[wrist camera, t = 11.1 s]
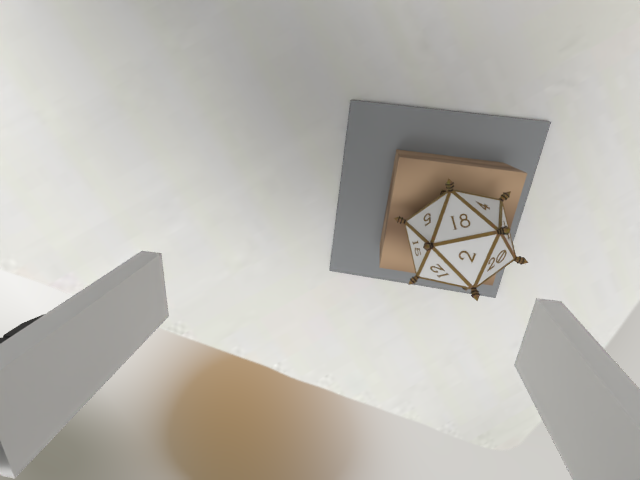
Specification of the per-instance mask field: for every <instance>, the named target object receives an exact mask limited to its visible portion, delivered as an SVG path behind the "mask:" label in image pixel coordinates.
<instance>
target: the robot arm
mask: <svg viewBox="0 0 640 480" xmlns="http://www.w3.org/2000/svg"><path fill="white" fill-rule="evenodd" d="M168 316H169V315H168V306H167V298H166V289H165V281H164V272H163V264H162V255H161V253H155V252H147V251H141V252H140V253H138V254H136V255H135V256H133V257H132V258H130V259H129V260H127V261H126V262H124V263H123V264H121V265H120V266H118V267H117V268H115V269H114V270H112V271H111V272H109V273H108V274H106V275H104V276H103V277H101V278H100V279H98V280H97V281H95V282H94V283H92V284H91V285H89V286H88V287H86V288H85V289H83V290H82V291H80V292H79V293H77V294H75V295H74V296H72V297H71V298H70V299H68V300H66V301H65V302H63V303H62V304H60V305H59V306H57V307H56V308H54V309H53V310H51V311H50V312H48V313H47V314H45V315H41V316H39V317H37V318H34V319H32V320H29V321H27V322H24V323H22V324H20V325H19V326H18V327H16V328H14V329H13V330H11V331H9V332H8V333H6V334H5V335H4V336H3V338H0V475H1V476H7V477H11V478H16V476H18V474H19V473H20V472H21V471H22V470H23V469H24V468H25V467H26V466H27V465H28V464H29V463H30V462H31V461H32V459H34V457H35V456H36V455H37V454H38V453H39V452H40V451H41V450H42V449H43V448H44V447H45V446H46V445H47V444H48V443H49V442H50V441H51V439H53V437H54V436H55V435H56V434H57V433H58V432H59V431H60V430H61V429H62V428H63V427H64V426H65V425H66V424H67V423H68V422H69V421H70V420H71V419H72V418H73V417H74V415H75V414H76V413H77V412H78V411H79V410H80V409H81V408H82V407H83V406H84V405H85V404H86V403H87V402H88V401H89V400H90V399H91V398H92V396H93V395H94V394H95V393H96V392H97V391H98V390H99V389H100V388H101V387H102V386H103V385H104V384H105V383H106V381H108V380H109V379H110V378H111V377H112V375H113V374H114V373H115V372H116V371H117V370H118V369H119V368H120V367H121V366H122V365H123V364H124V363H125V362H126V361H127V360H128V359H129V357H130V356H131V355H132V354H133V353H134V352H135V351H136V350H137V349H138V348H139V347H140V346H141V345H142V344H143V343H144V342H145V341H146V339H147V338H148V337H149V336H150V335H151V334H152V333H153V332H154V331H155V330H156V329H157V328H158V327H159V326H160V325H161V324H162V323H163V322H164V321H165V320H166V319H167V318H168ZM515 367H516V369H517V371H518V373H519V375H520V377H521V379H522V381H523V383H524V385H525V387H526V389H527V391H528V393H529V395H530V397H531V399H532V401H533V403H534V405H535V407H536V408H537V410H538V412H539V414H540V416H541V418H542V420H543V422H544V424H545V426H546V428H547V430H548V432H549V434H550V436H551V438H552V440H553V442H554V444H555V446H556V448H557V450H558V451H559V454H560V456H561V458H562V459H563V461H564V463H565V465H566V467H567V469H568V471H569V473H570V475H571V477H572V479H573V480H640V389H639V388H638V387H637V385H636V384H635V383H634V382H633V381H632V380H631V379H630V378H629V376H628V375H627V374H626V373H625V372H624V371H623V370H622V369H621V368H620V367H619V365H618V364H617V363H616V362H615V361H614V360H613V359H612V358H611V356H610V355H609V354H608V353H607V352H606V351H605V350H604V349H603V347H602V346H601V345H600V344H599V343H598V342H597V341H596V340H595V339H594V337H593V336H592V335H591V334H590V333H589V332H588V331H587V330H586V329H585V327H584V326H583V325H582V324H581V323H580V322H579V321H578V320H577V318H576V317H575V316H574V315H573V314H572V313H571V312H570V311H569V310H568V308H567V307H566V306H565V305H564V304H563V303H562V302H561V301H554V300H546V299H537V298H536V301H535V304H534V307H533V310H532V313H531V316H530V319H529V322H528V325H527V328H526V331H525V334H524V337H523V340H522V343H521V346H520V350H519V353H518V356H517V359H516V362H515Z"/></svg>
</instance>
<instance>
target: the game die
mask: <svg viewBox="0 0 640 480" xmlns="http://www.w3.org/2000/svg"><path fill="white" fill-rule="evenodd" d="M453 184H454V182H452V181H451V180H450V179H449V178H448V181H447V182H446V184H445V185H446V188H447V189H448V191H446V190H445V191H444V190H443V189H442V191H441V193H440V196H439V197H438V198H436V199H435V200H433V201H432V202H431V203H429V204H428V205H426V206H425V207H423V208H422V209H421V210H419V211H418V212H416V213H415V214H413V215H412V216H411V217H409V218H408V219H406V220H405V219H404V218H403V217H400V216H399V217H396V218H394V219H395V220H396V221H397V223H400V224H401V223H404V224H405V228H406V233H407V237H408V242H409V246H410V250H411V255H412V259H413V264H414V268H415V273H416V275H415V276H414V277H412V278H410V281H409V284H415V283H416V282H417V280H418V279H419V278H421V279H425V280H430V281H434V282H439V283H443V284H448V285H453V286H457V287H462V288H463V289H464V290H465V291H466V290H467V289H471V294H472V295H471V296H472V297H473V298H475V299H476V300H477V301H478V298H479V296H480V294H479V291H478V290H477V289H476V288H477V287H479V286H480V285H481V284H483V283H484V282H486V281H487V280H488V279H490V278H491V277H492V276H494V275H495V274H496V273H498V272H499V271H500V270H502V269H503V268H504V267H506V266H507V265H508V264H510V263H511V262H513V261H516V262H517V263H520V264H524V263H528V262H527V261H526V259H525V258H524V257H520V256H519V257H516V255H515V250H514V246H513V242H512V238H511V234H510V230H511V229H510V228H509V226H508V221H507V217H506V213H505V209H504V205H503V201H504V200H507V198H509V196H510V193H511V191H510V192H505V193H504V192H503V194H502V195H501V197H500V198H499V199H498V198H493V197H488V196H483V195H478V194H473V193H468V192H463V191H458V190H453V187H454V185H453ZM409 284H408V285H409Z"/></svg>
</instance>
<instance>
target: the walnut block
mask: <svg viewBox="0 0 640 480" xmlns="http://www.w3.org/2000/svg"><path fill="white" fill-rule="evenodd" d="M526 176H527V173H526V172H524V171H521V170H519V169H517V168H514V167H512V166H510V165H508V164H505V163H503V162H495V161H487V160H478V159H470V158H462V157H454V156H446V155H438V154H430V153H422V152H413V151H405V150H397V149H396V154H395V160H394V166H393V171H392V177H391V183H390V189H389V194H388V200H387V206H386V211H385V217H384V223H383V228H382V234H381V240H380V264H379V268H385V269H391V270H398V271H404V272H410V273H415V268H414V264H413V259H412V255H411V250H410V246H409V242H408V237H407V233H406V228H405V224H404V223H401V224H400V223H397V221H396V220H395V219H394V218H396V217H399V216H400V217H403V218H404V219H405V220H406V219H408V218H409V217H411V216H412V215H413V214H415V213H416V212H418V211H419V210H421V209H422V208H423V207H425V206H426V205H428V204H429V203H431V202H432V201H433V200H435V199H436V198H438V197H439V196H440V193H441V191H442V189H443V190H444V191H445V190H446V191H448V189H447V188H446V185H445V184H446V182H447V181H448V178H449V179H450V180H451V181H452V182H454V184H453V185H454V187H453V190H458V191H463V192H468V193H473V194H478V195H483V196H488V197H493V198H498V199H499V198H500V197H501V195H502V194H503V192H504V193H505V192H510V191H511V193H510V196H509V198H507V200H504V201H503V205H504V209H505V213H506V217H507V221H508V226H509V228H511V225H512V221H513V218H514V215H515V212H516V209H517V205H518V202H519V199H520V196H521V192H522V189H523V186H524V183H525V179H526ZM495 276H496V274H495V275H494V276H492V277H491V278H490V279H488V280H487V281H486V282H484V283H483V284H485V285H491V286H493V283H494V280H495Z"/></svg>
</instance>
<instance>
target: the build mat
mask: <svg viewBox="0 0 640 480" xmlns="http://www.w3.org/2000/svg"><path fill="white" fill-rule="evenodd" d="M550 124H551V122H549V121H539V120H530V119H521V118H512V117H503V116H494V115H485V114H476V113H467V112H457V111H448V110H439V109H430V108H421V107H412V106H403V105H394V104H384V103H375V102H366V101H357V100H351V102H350V110H349V118H348V126H347V134H346V142H345V150H344V158H343V166H342V174H341V182H340V190H339V198H338V206H337V214H336V222H335V230H334V238H333V246H332V254H331V262H330V270H329V271H334V272H340V273H346V274H352V275H359V276H365V277H371V278H377V279H383V280H389V281H395V282H401V283H408V284H409V281H410V278H412V277H414V276H415V275H416V273H410V272H404V271H398V270H391V269H385V268H379V264H380V240H381V234H382V228H383V223H384V217H385V211H386V206H387V200H388V194H389V189H390V183H391V177H392V171H393V166H394V160H395V154H396V149H397V150H405V151H413V152H422V153H430V154H438V155H446V156H454V157H462V158H470V159H478V160H487V161H495V162H503V163H505V164H508V165H510V166H512V167H514V168H517V169H519V170H521V171H524V172H526V173H527V176H526V179H525V183H524V186H523V189H522V192H521V196H520V199H519V202H518V205H517V209H516V212H515V215H514V218H513V221H512V225H511V228H510V229H511V230H510V234H511V238H512V242H513V240H514V237H515V234H516V231H517V228H518V225H519V221H520V218H521V215H522V212H523V209H524V206H525V202H526V199H527V196H528V193H529V190H530V187H531V184H532V180H533V177H534V174H535V171H536V168H537V165H538V161H539V158H540V155H541V152H542V149H543V146H544V142H545V139H546V136H547V133H548V130H549V127H550ZM504 269H505V267H504V268H503V269H502V270H500V271H499V272H498V273H496V276H495V280H494V283H493V286H491V285H485V284H481V285H480V286H479V287H477V288H476V289H477V290H478V291H479V294H480V295H481V296H487V297H493V298H495V297H496V294H497V291H498V288H499V285H500V281H501V278H502V275H503V272H504ZM414 285H420V286H426V287H432V288H438V289H444V290H450V291H457V292H463V293H469V294H471V289H467V290H466V291H465V290H464V289H463V288H462V287H457V286H453V285H448V284H443V283H439V282H434V281H430V280H425V279H421V278H419V279H418V280H417V282H416V283H415V284H414Z"/></svg>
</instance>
